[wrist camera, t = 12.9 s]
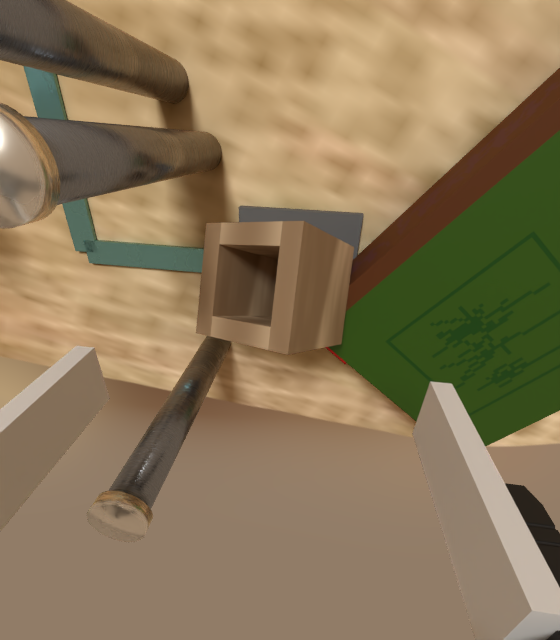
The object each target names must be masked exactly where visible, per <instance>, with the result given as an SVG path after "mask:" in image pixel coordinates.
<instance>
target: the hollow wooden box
mask: <svg viewBox="0 0 560 640" xmlns="http://www.w3.org/2000/svg"><path fill="white" fill-rule="evenodd" d="M353 253H354V247H353V246H351V245H349V244H347V243H345V242H343V241H342V240H340V239H338V238H336V237H334V236H332V235H330V234H328V233H326V232H324V231H322V230H320V229H319V228H317V227H315V226H313V225H311V224H309V223H307V222H305V221H274V222H230V223H206V232H205V242H204V253H203V264H202V275H201V285H200V296H199V307H198V318H197V328H196V333H198V334H202V335H206V336H211V337H215V338H219V339H223V340H227V341H232V342H236V343H240V344H244V345H248V346H253V347H257V348H261V349H265V350H269V351H274V352H278V353H282V354H286V355H290V354H295V353H300V352H305V351H310V350H315V349H319V348H324V347H329V346H334V345H339V344H341V343H342V335H343V328H344V320H345V313H346V305H347V298H348V290H349V283H350V275H351V268H352V261H353Z"/></svg>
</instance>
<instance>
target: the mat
mask: <svg viewBox="0 0 560 640" xmlns="http://www.w3.org/2000/svg"><path fill="white" fill-rule="evenodd" d="M362 220H363V213H350V212H334V211H318V210H302V209H286V208H270V207H254V206H240V207H239V222H274V221H305V222H307V223H309V224H311V225H313V226H315V227H317V228H319V229H320V230H322V231H324V232H326V233H328V234H330V235H332V236H334V237H336V238H338V239H340V240H342V241H343V242H345V243H347V244H349V245H351V246H353V247H354V253H353V259H355V258H356V257H357V252H358V246H359V239H360V233H361V227H362Z"/></svg>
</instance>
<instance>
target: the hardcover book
mask: <svg viewBox="0 0 560 640" xmlns="http://www.w3.org/2000/svg"><path fill="white" fill-rule="evenodd" d="M325 348H327V349H328V350H329V351H330V352H331V353H332V354H334V355H335V356H336V357H337V358H338V359H340V360H341V361H342V362H343V363H344V364H346V363H348V364H349V365H350V366H351V367H352V368H354V369H355V370H356V371H357V372H358V373H359V374H361V375H362V376H363V377H364V378H365V379H367V380H368V381H369V382H370V383H371V384H373V385H374V386H375V387H376V388H377V389H378V390H380V391H381V392H382V393H383V394H384V395H386V396H387V397H388V398H389V399H390V400H391V401H393V402H394V403H395V404H396V405H397V406H399V407H400V408H401V409H402V410H403V411H405V412H406V413H407V414H408V415H409V416H410V417H412V418H413V419H414V420H415V421H416V422H417V419H418V416H419V413H420V410H421V407H422V404H423V401H424V398H425V395H426V393H427V390H428V387H429V384H430V381H431V382H441V383H451V384H452V385H453V387H454V389H455V390H456V392H457V394H458V396H459V398H460V400H461V402H462V404H463V406H464V408H465V409H466V411H467V413H468V415H469V417H470V419H471V421H472V423H473V425H474V426H475V428H476V430H477V432H478V434H479V436H480V438H481V440H482V442H483V443H484V445H485V446H487V445H489V444H491V443H494V442H496V441H498V440H500V439H502V438H504V437H506V436H508V435H510V434H512V433H514V432H516V431H518V430H520V429H522V428H524V427H526V426H529V425H531V424H533V423H535V422H537V421H539V420H541V419H543V418H545V417H547V416H549V415H551V414H553V413H555V412H557V411H559V410H560V68H559V69H558V70H557V71H556V72H555V73H554V74H552V75H551V76H550V77H549V78H548V79H547V80H546V81H545V82H544V83H543V84H542V85H541V86H540V87H538V88H537V89H536V90H535V91H534V92H533V93H532V94H531V95H530V96H529V97H528V98H527V99H526V100H524V101H523V102H522V103H521V104H520V105H519V106H518V107H517V108H516V109H515V110H514V111H513V112H512V113H511V114H509V115H508V116H507V117H506V118H505V119H504V120H503V121H502V122H501V123H500V124H499V125H498V126H497V127H495V128H494V129H493V130H492V131H491V132H490V133H489V134H488V135H487V136H486V137H485V138H484V139H483V140H481V141H480V142H479V143H478V144H477V145H476V146H475V147H474V148H473V149H472V150H471V151H470V152H469V153H467V154H466V155H465V156H464V157H463V158H462V159H461V160H460V161H459V162H458V163H457V164H456V165H455V166H453V167H452V168H451V169H450V170H449V171H448V172H447V173H446V174H445V175H444V176H443V177H442V178H441V179H440V180H438V181H437V182H436V183H435V184H434V185H433V186H432V187H431V188H430V189H429V190H428V191H427V192H426V193H424V194H423V195H422V196H421V197H420V198H419V199H418V200H417V201H416V202H415V203H414V204H413V205H412V206H410V207H409V208H408V209H407V210H406V211H405V212H404V213H403V214H402V215H401V216H400V217H399V218H398V219H396V220H395V221H394V222H393V223H392V224H391V225H390V226H389V227H388V228H387V229H386V230H385V231H384V232H382V233H381V234H380V235H379V236H378V237H377V238H376V239H375V240H374V241H373V242H372V243H371V244H370V245H368V246H367V247H366V248H365V249H364V250H363V251H362V252H361V253H360V254H359V255H358V256H357V257H356V258H355V259H353V261H352V268H351V275H350V283H349V290H348V298H347V305H346V313H345V320H344V328H343V335H342V343H341V344H339V345H334V346H329V347H325Z"/></svg>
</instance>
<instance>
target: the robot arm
mask: <svg viewBox="0 0 560 640" xmlns="http://www.w3.org/2000/svg"><path fill="white" fill-rule="evenodd" d="M109 399H110V398H109V395H108V391H107V388H106V385H105V381H104V378H103V375H102V371H101V368H100V365H99V362H98V358H97V355H96V352H95V348H93V347H83V346H76V347H74V348H73V349H72V350H71V351H70V352H68V353H67V354H66V355H65V356H64V357H62V358H61V359H60V360H59V361H58V362H56V363H55V364H54V365H53V366H52V367H50V368H49V369H48V370H47V371H46V372H44V373H43V374H42V375H41V376H40V377H38V378H37V379H36V380H35V381H34V382H32V383H31V384H30V385H29V386H28V387H26V388H25V389H24V390H23V391H22V392H20V393H19V394H18V395H17V396H16V397H15V398H13V399H12V400H11V401H10V402H8V403H7V404H6V405H5V406H4V407H2V408H1V409H0V531H1V530H2V529H3V528H4V526H5V525H6V524H7V523H8V522H9V520H10V519H11V518H12V517H13V515H14V514H15V513H16V512H17V511H18V509H19V508H20V507H21V506H22V505H23V503H24V502H25V501H26V500H27V499H28V497H29V496H30V495H31V494H32V492H33V491H34V490H35V489H36V488H37V486H38V485H39V484H40V483H41V482H42V480H43V479H44V478H45V477H46V475H47V474H48V473H49V472H50V471H51V469H52V468H53V467H54V466H55V464H56V463H57V462H58V461H59V460H60V459H61V457H62V456H63V455H64V454H65V452H66V451H67V450H68V449H69V448H70V446H71V445H72V444H73V443H74V442H75V440H76V439H77V438H78V437H79V435H80V434H81V433H82V432H83V431H84V429H85V428H86V427H87V426H88V425H89V423H90V422H91V421H92V420H93V418H94V417H95V416H96V415H97V414H98V412H99V411H100V410H101V409H102V408H103V406H104V405H105V404H106V403H107V401H108V400H109ZM412 434H413V437H414V440H415V443H416V447H417V450H418V453H419V456H420V460H421V463H422V466H423V470H424V473H425V476H426V480H427V483H428V486H429V489H430V493H431V496H432V499H433V503H434V506H435V509H436V512H437V516H438V519H439V522H440V525H441V529H442V532H443V535H444V539H445V542H446V545H447V549H448V551H449V555H450V558H451V562H452V565H453V568H454V572H455V575H456V578H457V581H458V585H459V588H460V591H461V595H462V598H463V601H464V604H465V608H466V611H467V614H468V618H469V621H470V624H471V627H472V631H473V634H474V637H475V640H560V533H559V532H558V530H556V529H555V525H554V523H553V522H552V520H551V518H550V517H549V515H548V513H547V512H546V510H545V508H544V507H543V505H542V504H541V503H540V502H539V501H538V500H537V499H536V498H535V497H534V496H533V495H532V494H531V493H530V492H529V491H528V490H527V489H526V487H525V486H521V485H513V484H505V483H504V481H503V479H502V478H501V476H500V474H499V472H498V470H497V468H496V467H495V464H494V462H493V461H492V459H491V457H490V455H489V453H488V451H487V449H486V447H485V445H484V443H483V442H482V440H481V438H480V436H479V434H478V432H477V430H476V428H475V426H474V425H473V423H472V421H471V419H470V417H469V415H468V413H467V411H466V409H465V408H464V406H463V404H462V402H461V400H460V398H459V396H458V394H457V392H456V390H455V389H454V387H453V385H452V384H451V383H441V382H431V381H430V384H429V387H428V390H427V393H426V395H425V398H424V401H423V404H422V407H421V410H420V413H419V416H418V419H417V422H416V424H415V427H414V430H413V433H412Z"/></svg>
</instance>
